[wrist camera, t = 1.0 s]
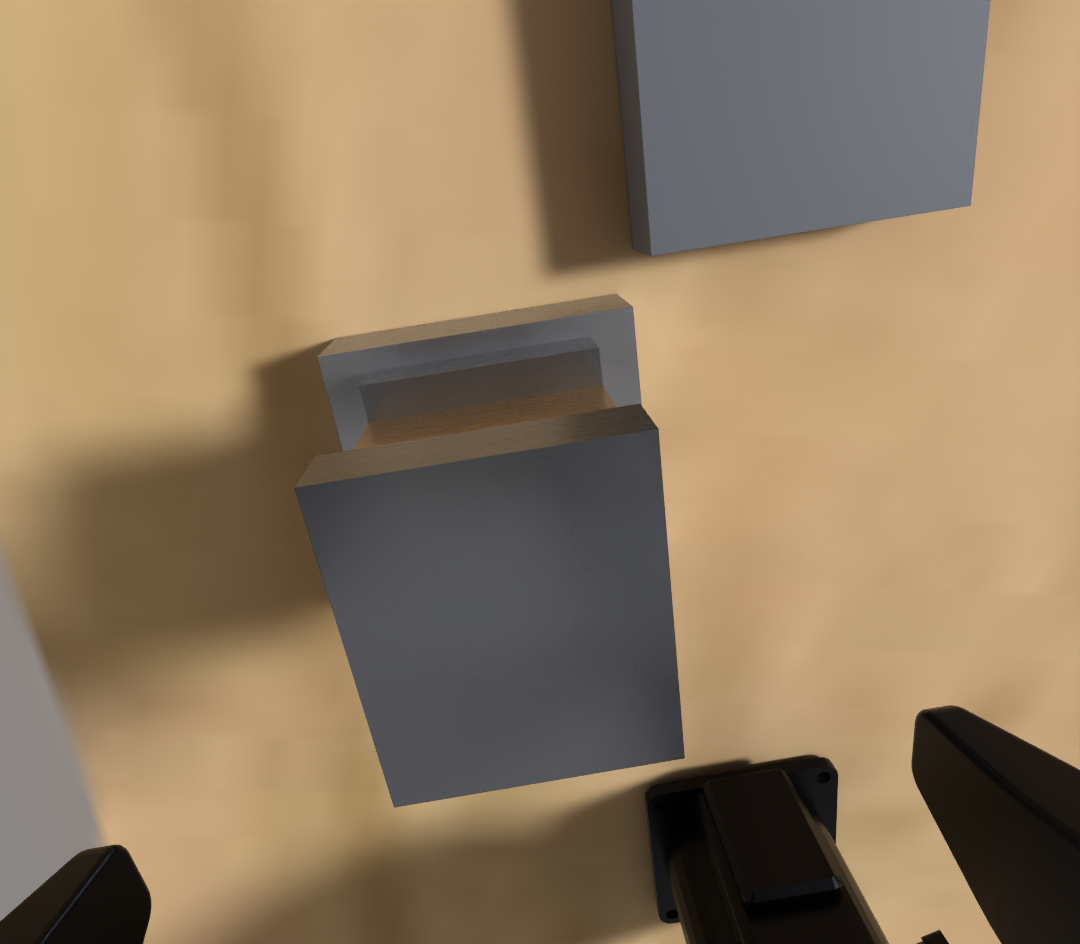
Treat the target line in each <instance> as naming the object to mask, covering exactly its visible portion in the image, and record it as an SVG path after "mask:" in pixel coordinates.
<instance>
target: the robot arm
mask: <svg viewBox="0 0 1080 944" xmlns="http://www.w3.org/2000/svg"><path fill="white" fill-rule="evenodd" d="M912 772H913V776H914V779H915V782H916V785H917V787H918V789H919V791H920V793H921V795H922V797H923V798H924V800H925V802H926V804H927V806H928V808H929V810H930V812H931V814H932V816H933V818H934V820H935V821H936V823H937V825H938V827H939V829H940V831H941V833H942V835H943V837H944V839H945V841H946V843H947V844H948V846H949V848H950V850H951V852H952V854H953V856H954V858H955V860H956V862H957V864H958V865H959V867H960V869H961V871H962V873H963V875H964V877H965V879H966V881H967V883H968V885H969V887H970V888H971V890H972V892H973V894H974V896H975V898H976V900H977V902H978V904H979V905H980V907H981V909H982V911H983V913H984V915H985V916H986V918H987V920H988V922H989V924H990V925H991V927H992V929H993V930H994V932H995V934H996V935H997V937H998V939H999V940H1000V942H1001V943H1002V944H1080V770H1079V769H1077V768H1075V767H1074V766H1072V765H1070V764H1068V763H1066V762H1064V761H1062V760H1060V759H1058V758H1056V757H1055V756H1053V755H1051V754H1049V753H1047V752H1045V751H1043V750H1041V749H1039V748H1037V747H1036V746H1034V745H1032V744H1030V743H1028V742H1026V741H1024V740H1022V739H1020V738H1018V737H1017V736H1015V735H1013V734H1011V733H1009V732H1007V731H1005V730H1003V729H1001V728H999V727H998V726H996V725H994V724H992V723H990V722H988V721H986V720H984V719H982V718H980V717H979V716H977V715H975V714H973V713H971V712H969V711H967V710H965V709H963V708H961V707H958V706H952V705H950V706H943V707H937V708H931V709H925V710H922V711H920V712H919V713H918V715H917V716H916V720H915V729H914V740H913V752H912ZM837 791H838V773H837V770H836V769H835V767H834V765H833V764H832V762H831V761H830V760H829V759H827V758H824V757H820V758H813V759H807V760H801V761H795V762H789V763H783V764H777V765H771V766H766V767H760V768H754V769H748V770H742V771H736V772H730V773H724V774H719V775H713V776H707V777H701V778H695V779H689V780H683V781H677V782H671V783H666V784H660V785H656V786H653V787H651V788H650V789H648V790H647V792H646V793H645V807H646V816H647V825H648V833H649V842H650V851H651V860H652V868H653V877H654V886H655V895H656V904H657V909H658V913H659V917H660V919H661V920H662V921H663V922H665V923H678V922H681V926H682V930H683V934H684V937H685V941H686V944H889V943H888V941H887V939H886V937H885V935H884V933H883V931H882V930H881V928H880V926H879V924H878V922H877V920H876V918H875V917H874V915H873V913H872V911H871V909H870V907H869V905H868V904H867V902H866V900H865V898H864V896H863V894H862V892H861V891H860V889H859V887H858V885H857V883H856V881H855V879H854V878H853V876H852V874H851V872H850V870H849V868H848V866H847V865H846V863H845V861H844V859H843V857H842V855H841V853H840V852H839V850H838V848H837V846H836V819H837ZM659 800H661V801H659ZM150 914H151V897H150V892H149V890H148V888H147V886H146V884H145V882H144V880H143V878H142V876H141V874H140V872H139V871H138V869H137V867H136V865H135V863H134V861H133V859H132V857H131V855H130V854H129V852H128V850H127V849H126V848H124V847H123V846H121V845H110V846H104V847H98V848H92V849H87V850H85V851H82V852H80V853H78V854H77V855H76V856H74V857H73V858H72V859H71V860H70V861H68V862H67V863H66V864H65V865H64V866H63V867H62V868H60V869H59V870H58V871H57V872H56V873H55V874H54V875H53V876H51V877H50V878H49V879H48V880H47V881H46V882H45V883H43V885H41V886H40V887H39V888H38V889H37V890H36V891H34V892H33V893H32V894H31V895H30V896H29V897H28V898H26V899H25V900H24V901H23V902H22V903H21V904H20V905H18V906H17V907H16V908H15V909H14V910H13V911H12V912H11V913H9V914H8V915H7V916H6V917H5V918H4V919H3V920H1V921H0V944H143V942H144V938H145V934H146V930H147V927H148V923H149V919H150ZM921 939H922V942H920V943H917V944H949V943H948V942H947V940H946V939H945V937H944V935H943V934H942V932H941V931H940V930H938V931H935V932H933V933H930V934H928V935H925V936H923V937H921Z"/></svg>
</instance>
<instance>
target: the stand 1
mask: <svg viewBox="0 0 1080 944" xmlns="http://www.w3.org/2000/svg"><path fill="white" fill-rule="evenodd" d="M589 336H591V337H592V339H593V340H594V342H595V343H596V344H597V346H598V347H599V352H600V361H601V371H602V380H603V386H604V387H605V389H606V390H607V392H608V394H609V395H610V397H611V399H612V400H613V402H614V403H615V405H616V407H621V406H627V405H633V404H641V393H640V382H639V370H638V359H637V348H636V337H635V325H634V314H633V306H631V305H630V304H629V303H628V302H626V301H625V300H624V299H622V298H621V297H620V296H619V295H617V294H612V295H606V296H600V297H593V298H587V299H581V300H575V301H568V302H562V303H556V304H549V305H543V306H537V307H530V308H524V309H518V310H512V311H505V312H499V313H493V314H486V315H480V316H474V317H467V318H461V319H455V320H449V321H442V322H436V323H430V324H423V325H417V326H411V327H404V328H398V329H392V330H385V331H379V332H373V333H367V334H360V335H354V336H348V337H341V338H335V339H334V340H333V341H332V342H331V343H330V344H329V345H328V346H327V347H326V348H325V349H324V350H323V351H322V352H321V353H320V354H319V355H318V356H317V358H318V362H319V365H320V369H321V372H322V376H323V380H324V383H325V387H326V391H327V394H328V398H329V402H330V405H331V409H332V413H333V416H334V420H335V423H336V427H337V431H338V434H339V438H340V442H341V445H342V449H343V451H348V450H354V449H355V448H356V446H357V444H358V442H359V440H360V438H361V436H362V434H363V432H364V430H365V428H366V426H367V424H368V420H367V416H366V412H365V408H364V404H363V400H362V396H361V392H360V388H359V385H360V384H361V382H362V380H363V379H364V377H365V376H366V374H367V373H368V372H369V371H376V370H382V369H388V368H394V367H401V366H407V365H413V364H419V363H426V362H432V361H438V360H445V359H451V358H457V357H463V356H470V355H476V354H482V353H488V352H495V351H501V350H507V349H513V348H520V347H526V346H532V345H539V344H545V343H551V342H557V341H564V340H570V339H576V338H582V337H589ZM641 406H642V404H641Z"/></svg>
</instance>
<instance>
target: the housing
mask: <svg viewBox="0 0 1080 944" xmlns="http://www.w3.org/2000/svg"><path fill="white" fill-rule="evenodd" d="M359 388H360V392H361V396H362V400H363V404H364V408H365V412H366V416H367V420H368V424H367V426H366V428H365V430H364V432H363V434H362V436H361V438H360V440H359V442H358V444H357V446H356V448H355V449H354V450H348V451H342V452H336V453H330V454H323V455H317V456H314V458H313V459H312V461H311V462H310V464H309V466H308V467H307V469H306V470H305V472H304V473H303V475H302V477H301V478H300V480H299V481H298V483H297V484H296V486H295V491H296V494H297V497H298V501H299V504H300V507H301V510H302V514H303V517H304V520H305V523H306V526H307V530H308V533H309V536H310V539H311V542H312V546H313V549H314V552H315V555H316V558H317V562H318V565H319V568H320V571H321V575H322V578H323V581H324V584H325V587H326V591H327V594H328V597H329V600H330V603H331V607H332V610H333V613H334V616H335V619H336V623H337V626H338V629H339V632H340V636H341V639H342V642H343V645H344V648H345V652H346V655H347V658H348V661H349V664H350V668H351V671H352V674H353V677H354V680H355V684H356V687H357V690H358V693H359V696H360V700H361V703H362V706H363V709H364V713H365V716H366V719H367V722H368V725H369V729H370V732H371V735H372V738H373V741H374V745H375V748H376V751H377V754H378V757H379V761H380V764H381V767H382V770H383V774H384V777H385V780H386V783H387V786H388V790H389V793H390V796H391V799H392V802H393V806H394V807H400V806H406V805H412V804H418V803H423V802H429V801H435V800H441V799H447V798H453V797H459V796H465V795H471V794H477V793H482V792H488V791H494V790H500V789H506V788H512V787H518V786H524V785H530V784H536V783H541V782H547V781H553V780H559V779H565V778H571V777H577V776H583V775H589V774H594V773H600V772H606V771H612V770H618V769H624V768H630V767H636V766H642V765H648V764H653V763H659V762H665V761H671V760H677V759H683V758H685V756H684V743H683V731H682V718H681V706H680V693H679V681H678V668H677V656H676V643H675V631H674V618H673V606H672V593H671V581H670V568H669V556H668V543H667V531H666V518H665V506H664V493H663V481H662V469H661V456H660V444H659V431H658V428H657V426H656V425H655V424H654V422H653V421H652V419H651V418H650V417H649V415H648V414H647V413H646V411H645V410H644V409H643V407H642V406H641V404H633V405H627V406H621V407H616V405H615V403H614V402H613V400H612V399H611V397H610V395H609V394H608V392H607V390H606V389H605V387H604V386H603V380H602V371H601V361H600V352H599V347H598V346H597V344H596V343H595V342H594V340H593V339H592V337H591V336H589V337H582V338H576V339H570V340H564V341H557V342H551V343H545V344H539V345H532V346H526V347H520V348H513V349H507V350H501V351H495V352H488V353H482V354H476V355H470V356H463V357H457V358H451V359H445V360H438V361H432V362H426V363H419V364H413V365H407V366H401V367H394V368H388V369H382V370H376V371H369V372H368V373H367V374H366V376H365V377H364V379H363V380H362V382H361V384H360V385H359Z"/></svg>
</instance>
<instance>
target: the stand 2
mask: <svg viewBox="0 0 1080 944" xmlns="http://www.w3.org/2000/svg"><path fill="white" fill-rule="evenodd" d="M611 1H612V12H613V24H614V36H615V47H616V59H617V70H618V82H619V94H620V105H621V117H622V129H623V140H624V152H625V163H626V175H627V187H628V198H629V210H630V221H631V233H632V245H633V249H635V250H637V251H640V252H642V253H645V254H648V255H650V256H655V255H662V254H668V253H674V252H681V251H687V250H693V249H700V248H706V247H712V246H719V245H725V244H731V243H738V242H744V241H750V240H757V239H763V238H769V237H776V236H782V235H788V234H795V233H801V232H807V231H814V230H820V229H826V228H833V227H839V226H845V225H852V224H858V223H864V222H871V221H877V220H883V219H890V218H896V217H902V216H909V215H915V214H921V213H928V212H934V211H940V210H947V209H953V208H959V207H966V206H971V196H972V186H973V176H974V165H975V155H976V144H977V134H978V124H979V113H980V103H981V92H982V82H983V72H984V61H985V51H986V40H987V30H988V20H989V9H990V0H611Z"/></svg>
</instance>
